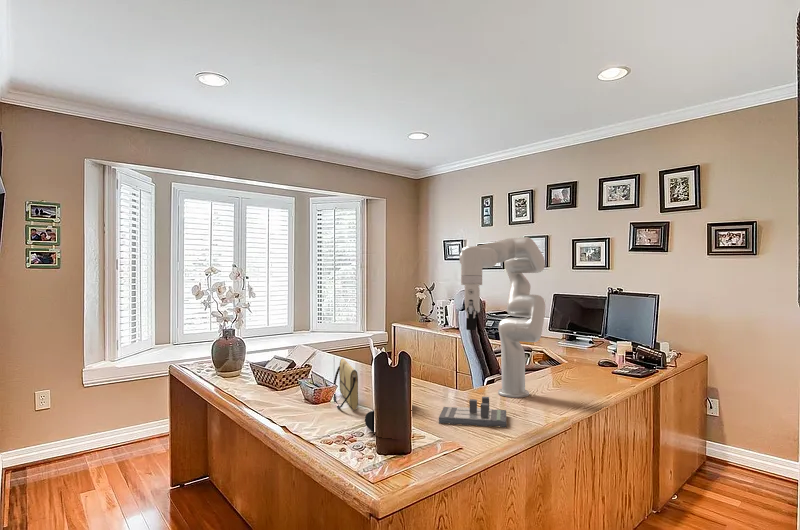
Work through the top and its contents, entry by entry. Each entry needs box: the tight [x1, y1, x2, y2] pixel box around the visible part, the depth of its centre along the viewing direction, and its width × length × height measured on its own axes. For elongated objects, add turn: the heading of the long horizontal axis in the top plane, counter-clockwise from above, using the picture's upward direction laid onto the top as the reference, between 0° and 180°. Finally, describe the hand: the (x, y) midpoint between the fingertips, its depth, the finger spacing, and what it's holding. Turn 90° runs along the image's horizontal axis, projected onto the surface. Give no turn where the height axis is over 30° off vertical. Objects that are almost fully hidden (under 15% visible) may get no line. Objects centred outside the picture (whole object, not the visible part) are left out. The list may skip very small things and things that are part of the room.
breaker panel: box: [438, 406, 507, 428], centre depth 159 cm, size 13×22×2 cm, turn 77°
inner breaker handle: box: [481, 396, 490, 410], centre depth 163 cm, size 2×2×4 cm
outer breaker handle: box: [480, 402, 488, 418], centre depth 154 cm, size 2×2×4 cm
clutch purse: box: [332, 358, 359, 411], centre depth 183 cm, size 30×7×15 cm, turn 16°
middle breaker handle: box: [469, 398, 478, 413], centre depth 159 cm, size 2×2×4 cm
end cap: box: [364, 409, 375, 434], centre depth 150 cm, size 10×7×7 cm
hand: (471, 328), depth 167 cm, fingers open, 9 cm apart
